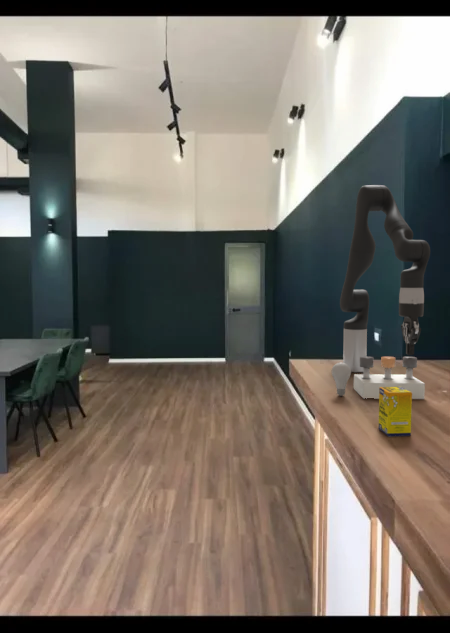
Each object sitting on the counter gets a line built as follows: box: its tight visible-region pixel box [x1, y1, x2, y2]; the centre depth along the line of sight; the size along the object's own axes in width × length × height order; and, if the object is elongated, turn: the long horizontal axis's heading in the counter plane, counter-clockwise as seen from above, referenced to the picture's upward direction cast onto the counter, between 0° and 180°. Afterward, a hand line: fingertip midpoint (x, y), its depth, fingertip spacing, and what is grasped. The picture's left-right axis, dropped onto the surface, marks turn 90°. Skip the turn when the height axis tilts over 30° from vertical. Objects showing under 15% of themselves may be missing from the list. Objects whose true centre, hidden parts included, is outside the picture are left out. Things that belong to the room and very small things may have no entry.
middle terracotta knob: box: [380, 356, 396, 380], centre depth 161 cm, size 4×4×8 cm
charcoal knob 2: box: [402, 356, 418, 380], centre depth 161 cm, size 4×4×8 cm
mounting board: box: [353, 373, 426, 400], centre depth 161 cm, size 14×19×5 cm
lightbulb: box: [331, 361, 352, 397], centre depth 158 cm, size 6×6×11 cm
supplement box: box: [378, 387, 413, 438], centre depth 121 cm, size 6×6×11 cm
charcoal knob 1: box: [360, 355, 375, 379], centre depth 161 cm, size 4×4×8 cm
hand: (409, 354), depth 160 cm, fingers closed
